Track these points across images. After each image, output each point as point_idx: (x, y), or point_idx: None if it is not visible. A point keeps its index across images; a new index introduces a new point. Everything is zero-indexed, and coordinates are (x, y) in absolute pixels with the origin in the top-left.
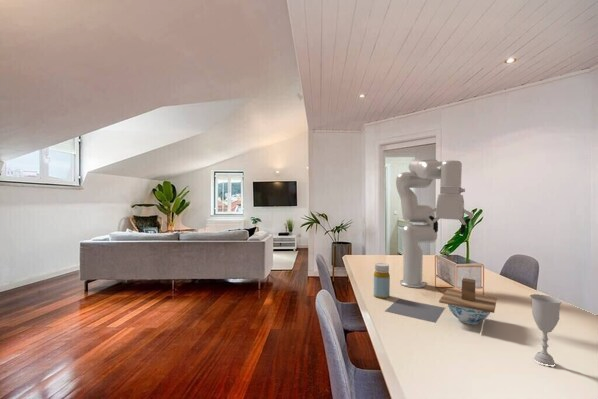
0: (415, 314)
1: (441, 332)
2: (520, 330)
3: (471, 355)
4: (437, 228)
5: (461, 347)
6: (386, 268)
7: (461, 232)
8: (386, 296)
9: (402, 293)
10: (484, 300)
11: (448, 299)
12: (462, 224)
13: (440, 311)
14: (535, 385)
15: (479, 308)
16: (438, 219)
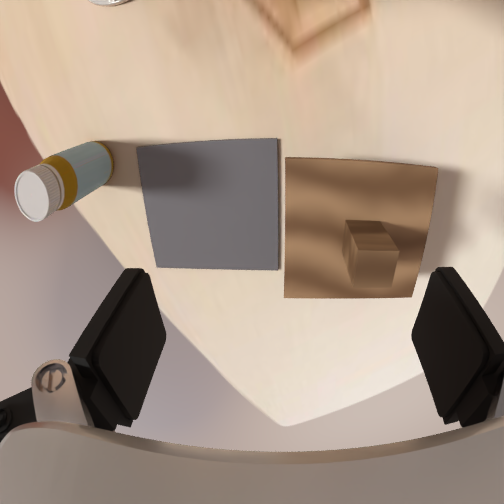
0: (222, 246)
1: (297, 304)
2: (448, 201)
3: (347, 352)
4: (141, 325)
5: (334, 338)
6: (54, 204)
7: (422, 353)
8: (109, 175)
9: (123, 79)
10: (403, 225)
11: (306, 276)
12: (462, 412)
13: (272, 183)
14: (406, 372)
15: (382, 297)
16: (92, 424)
